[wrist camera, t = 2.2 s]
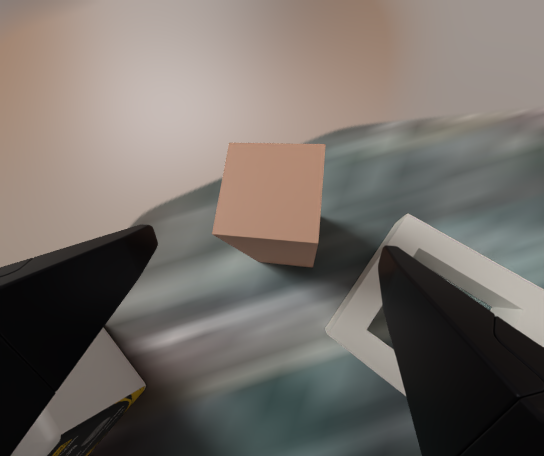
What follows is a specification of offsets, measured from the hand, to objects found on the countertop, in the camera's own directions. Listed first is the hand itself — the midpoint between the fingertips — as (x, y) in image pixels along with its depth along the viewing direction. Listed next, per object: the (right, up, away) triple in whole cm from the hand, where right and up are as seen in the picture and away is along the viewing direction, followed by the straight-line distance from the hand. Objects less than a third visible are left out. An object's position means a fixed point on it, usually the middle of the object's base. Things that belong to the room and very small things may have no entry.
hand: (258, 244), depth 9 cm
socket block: (+11, -6, +8) cm, 15 cm away
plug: (+2, 0, +11) cm, 11 cm away
